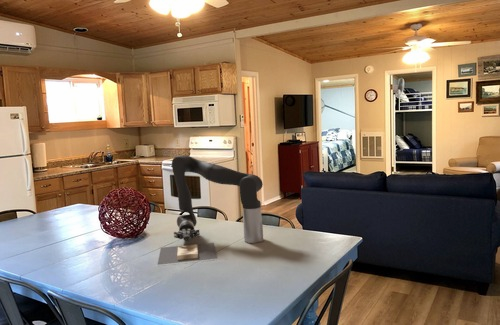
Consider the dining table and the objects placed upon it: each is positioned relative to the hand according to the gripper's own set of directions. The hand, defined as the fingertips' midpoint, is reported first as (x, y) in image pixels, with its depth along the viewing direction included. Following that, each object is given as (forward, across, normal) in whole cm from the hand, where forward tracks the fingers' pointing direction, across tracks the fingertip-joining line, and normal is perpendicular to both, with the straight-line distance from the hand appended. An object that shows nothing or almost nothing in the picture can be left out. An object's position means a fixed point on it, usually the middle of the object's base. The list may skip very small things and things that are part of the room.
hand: (186, 238), depth 186 cm
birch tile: (-5, 0, +6) cm, 7 cm away
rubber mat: (0, 0, +8) cm, 8 cm away
